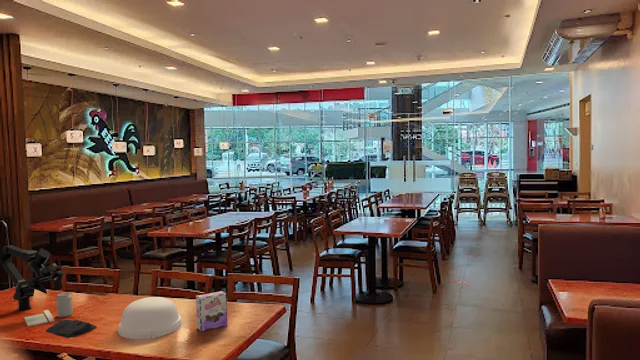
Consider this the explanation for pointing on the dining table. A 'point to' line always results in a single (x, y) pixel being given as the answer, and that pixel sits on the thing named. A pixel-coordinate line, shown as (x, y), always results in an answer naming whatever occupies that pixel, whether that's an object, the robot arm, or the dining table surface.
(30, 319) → the pad
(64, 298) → the can
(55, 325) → the dark slate chunk
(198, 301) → the candy box
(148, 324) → the dome cover
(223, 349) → the dining table surface
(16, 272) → the robot arm
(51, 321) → the strip
